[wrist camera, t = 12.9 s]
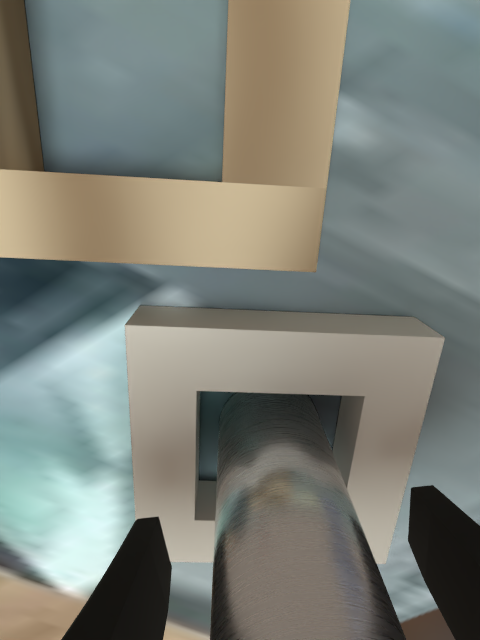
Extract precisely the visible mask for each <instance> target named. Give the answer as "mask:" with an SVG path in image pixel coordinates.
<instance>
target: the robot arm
mask: <svg viewBox="0 0 480 640" xmlns="http://www.w3.org/2000/svg"><path fill="white" fill-rule="evenodd" d="M408 542H409V544H410V547H411V549H412V552H413V554H414V557H415V559H416V562H417V564H418V566H419V569H420V571H421V574H422V576H423V578H424V581H425V583H426V585H427V587H428V589H429V591H430V593H431V594H432V596H433V598H434V600H435V602H436V604H437V606H438V608H439V610H440V611H441V613H442V615H443V617H444V619H445V621H446V623H447V625H448V627H449V628H450V630H451V632H452V634H453V636H454V638H455V639H456V640H480V526H479V525H478V524H477V523H476V522H475V521H473V520H472V519H471V518H470V517H469V516H468V515H466V514H465V513H464V512H463V511H462V510H461V509H460V508H458V507H457V506H456V505H455V504H454V503H453V502H452V501H450V500H449V499H448V498H447V497H446V496H445V495H444V494H442V493H441V492H440V491H439V490H438V489H437V488H435V487H434V486H433V485H431V486H422V487H413V488H411V499H410V516H409V534H408ZM171 570H172V566H171V562H170V559H169V555H168V551H167V547H166V543H165V539H164V535H163V531H162V527H161V523H160V520H159V516H158V517H149V518H141V519H137V520H136V521H135V522H134V524H133V526H132V528H131V530H130V531H129V533H128V535H127V537H126V538H125V540H124V542H123V544H122V545H121V547H120V549H119V551H118V552H117V554H116V556H115V557H114V559H113V561H112V562H111V564H110V566H109V567H108V569H107V571H106V572H105V574H104V576H103V577H102V579H101V580H100V582H99V583H98V585H97V587H96V588H95V590H94V591H93V593H92V595H91V596H90V598H89V599H88V601H87V603H86V604H85V606H84V607H83V609H82V610H81V612H80V613H79V615H78V616H77V617H76V619H75V620H74V622H73V623H72V625H71V626H70V628H69V629H68V631H67V632H66V634H65V635H64V637H63V638H62V639H61V640H163V636H164V630H165V625H166V619H167V613H168V605H169V595H170V583H171Z"/></svg>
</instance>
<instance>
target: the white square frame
mask: <svg viewBox="0 0 480 640" xmlns="http://www.w3.org/2000/svg"><path fill="white" fill-rule="evenodd" d="M125 337H126V355H127V373H128V391H129V409H130V427H131V445H132V463H133V481H134V499H135V517H136V520H137V519H141V518H149V517H158V516H159V520H160V523H161V527H162V531H163V535H164V539H165V543H166V547H167V551H168V555H169V559H170V562H213V559H214V535H215V511H216V488H217V481H199V435H200V391H216V392H247V393H279V394H311V395H342V398H341V404H340V410H339V416H338V421H337V427H336V433H335V439H334V445H333V451H332V452H333V455H334V457H335V460H336V462H337V465H338V468H339V470H340V473H341V475H342V478H343V480H344V483H345V485H346V488H347V490H348V493H349V495H350V498H351V501H352V503H353V506H354V508H355V511H356V513H357V516H358V518H359V521H360V523H361V526H362V529H363V531H364V534H365V536H366V539H367V541H368V544H369V546H370V549H371V551H372V554H373V556H374V559H375V562H376V564H386V560H387V556H388V552H389V548H390V545H391V541H392V537H393V533H394V529H395V526H396V522H397V518H398V514H399V511H400V507H401V503H402V499H403V495H404V492H405V488H406V484H407V480H408V476H409V473H410V469H411V465H412V461H413V457H414V454H415V450H416V446H417V442H418V438H419V435H420V431H421V427H422V423H423V420H424V416H425V412H426V408H427V404H428V401H429V397H430V393H431V389H432V385H433V382H434V378H435V374H436V370H437V366H438V363H439V359H440V355H441V351H442V348H443V344H444V340H445V337H443V336H442V335H440V334H439V333H437V332H436V331H434V330H433V329H431V328H430V327H428V326H427V325H425V324H424V323H422V322H421V321H420V320H418V319H417V318H415V317H402V316H378V315H354V314H331V313H307V312H283V311H260V310H236V309H212V308H189V307H165V306H141V305H140V306H139V307H138V309H137V310H136V311H135V313H134V314H133V315H132V316H131V318H130V319H129V320H128V322H127V323H126V324H125Z"/></svg>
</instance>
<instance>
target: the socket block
mask: <svg viewBox="0 0 480 640" xmlns="http://www.w3.org/2000/svg"><path fill="white" fill-rule="evenodd" d="M349 7H350V0H229V2H228V30H227V59H226V87H225V115H224V144H223V172H222V182H209V181H192V180H175V179H158V178H141V177H124V176H107V175H90V174H73V173H56V172H44V166H43V158H42V149H41V141H40V132H39V124H38V115H37V107H36V98H35V90H34V81H33V73H32V64H31V56H30V47H29V39H28V30H27V22H26V13H25V5H24V0H0V257H7V258H28V259H49V260H70V261H91V262H112V263H133V264H154V265H175V266H196V267H217V268H238V269H259V270H280V271H301V272H316V268H317V260H318V252H319V244H320V236H321V229H322V221H323V213H324V205H325V197H326V189H327V181H328V173H329V165H330V157H331V149H332V142H333V134H334V126H335V118H336V110H337V102H338V94H339V86H340V78H341V70H342V62H343V55H344V47H345V39H346V31H347V23H348V15H349Z"/></svg>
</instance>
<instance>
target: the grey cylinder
mask: <svg viewBox="0 0 480 640" xmlns="http://www.w3.org/2000/svg"><path fill="white" fill-rule="evenodd" d="M210 640H406V638H405V635H404V633H403V630H402V628H401V625H400V623H399V620H398V617H397V615H396V612H395V610H394V607H393V605H392V602H391V600H390V597H389V595H388V592H387V590H386V587H385V584H384V582H383V579H382V577H381V574H380V572H379V569H378V567H377V564H376V562H375V559H374V556H373V554H372V551H371V549H370V546H369V544H368V541H367V539H366V536H365V534H364V531H363V529H362V526H361V523H360V521H359V518H358V516H357V513H356V511H355V508H354V506H353V503H352V501H351V498H350V495H349V493H348V490H347V488H346V485H345V483H344V480H343V478H342V475H341V473H340V470H339V468H338V465H337V462H336V460H335V457H334V455H333V452H332V450H331V447H330V445H329V442H328V440H327V437H326V434H325V432H324V429H323V427H322V424H321V422H320V419H319V417H318V414H317V412H316V409H315V407H314V404H313V403H312V401H311V399H310V398H309V397H308V396H307V395H306V394H279V393H247V392H236V393H234V394H233V395H232V396H231V397H230V398H229V400H228V401H227V402H226V404H225V405H224V407H223V409H222V411H221V415H220V420H219V440H218V464H217V488H216V511H215V535H214V559H213V583H212V607H211V631H210Z"/></svg>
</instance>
